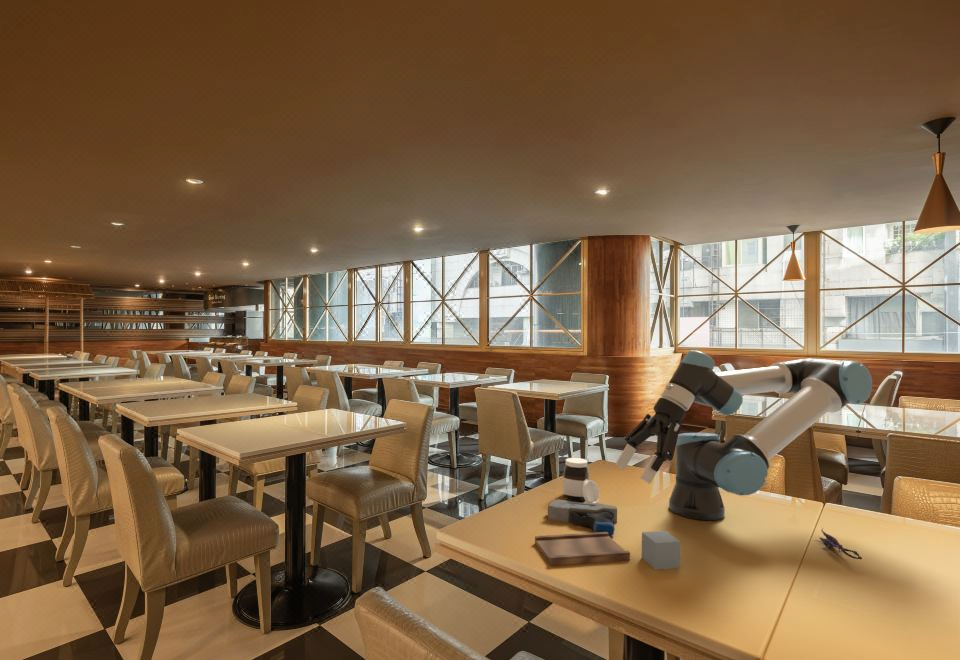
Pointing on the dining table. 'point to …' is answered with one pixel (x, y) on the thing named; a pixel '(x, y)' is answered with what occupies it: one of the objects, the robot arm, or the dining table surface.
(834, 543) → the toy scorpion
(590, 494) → the spread jar
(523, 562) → the dining table surface
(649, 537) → the cube
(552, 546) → the board
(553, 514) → the ray gun
